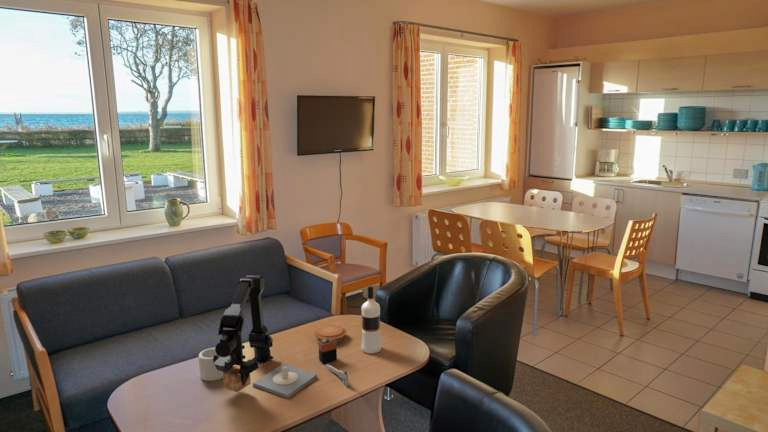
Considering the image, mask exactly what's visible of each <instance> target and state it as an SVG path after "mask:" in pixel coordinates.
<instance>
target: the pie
mask: <svg viewBox="0 0 768 432" xmlns="http://www.w3.org/2000/svg"><path fill="white" fill-rule="evenodd" d="M346 334H347V329H346V327H345V328H344V327H342V326H339V325H335V324H328V325H322V326H320V327H318V328H317V329H315V330H314V331H313V335H314V337H315V338H316V339H317V341H318V342H319V341H321V340H322V339H329V338H333V339H334V340H335V341H336V344H338V343H340V342H341V341H342V340H343V338H344V337H345V336H346Z"/></svg>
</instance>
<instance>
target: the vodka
mask: <svg viewBox="0 0 768 432" xmlns="http://www.w3.org/2000/svg"><path fill="white" fill-rule="evenodd" d="M380 305H381V304H380V303H378V302H376V300H375V299H374V286H367V301H365V302H364V303H363V304H362V305H361V307H360V308H361V323H362V325H361V333H362V335H361V337H362V339H361V345H360V349H361V351H362V352H364V353H365V354H370V355H371V354H373V355H374V354H377V353H379V352H381V351H382V345H383V344H382V339H381V319H380V318H381V306H380Z"/></svg>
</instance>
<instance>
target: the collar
mask: <svg viewBox="0 0 768 432" xmlns="http://www.w3.org/2000/svg"><path fill="white" fill-rule="evenodd" d="M239 371H240V366H238V365H234V366H233V367H232V368H231V369H229V370H227V371H226V372H224V373H223V378H222V381H223V388H224V389H227V390H229V391H233V392H235V393H238V392H240V391H241V390H244V389H245V388H247V387H248V386H249V385H251V383H252V382H251V374H250V375H249V377H248V379H247V382H246V384H245V385H244V386H243V385H242V379H241V374H240V373H238V372H239Z"/></svg>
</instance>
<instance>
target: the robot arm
mask: <svg viewBox="0 0 768 432" xmlns="http://www.w3.org/2000/svg"><path fill="white" fill-rule="evenodd" d="M265 282H266V279H265V278H264V276H262V275H258V274H257V275H255V274H254V275H253V274H252V275H250V274H249V275H248V274H246V275H245V277H241V278H240V279H239V281H238V287H237V289H236V292H235V295H234V297H233V300H232V303H231V305H230V306H229V307H228V308H226V309H225V311H224V312H223V314H222V316H221V318H220V322H219V326H218V327H219V328H218V333H217V335H218V336H222V337H220V338H219V342H218V343H217V344H216V345H215V347H214V348H215V351H216V353H217V354H216V355H215V356H214V357H213V363H214V364H215V367H216V369H217V370H219V371H222V372H226V371H227V370H229V369H231V368H232V367H234V366H236V365H237V366H240V371H239V372H238V373H240V374H241V379H242V385H243V386H244V385H245V384H246V382H247V379H248V377H249V375H250V376H251V374H252V373H253V372H255V371H256V370H258V369H259V366H260V365H259V364H264V363H266V362H268V361H270V360H271V359H273V357H274V356H272V355H271V349H270V348H272V347H273V346H274V345H273V344H274V343H273V342H274V340H273V337H272V336H271V335H270V333H269V329H268V327H266V325H265V323H264V313H263V304H262V301H263V300H262V293H263V291H264V289H265V284H266V283H265ZM248 298H249V306H250V307H249V308H250V317H251V326H252V328H251V330H250V332H249V334H248V344H249V347H250V349H251V348H253V351H254V352H253V353H254V355H253V356H254V357H253V358H252V359H248V360H245V359H246V355H245V354H243V353H244V351H243V350H245V348H246V347H245V345H243V338H242V332H243V328H244V325H245V316H244V309H245V306H246V303H247V301H248ZM244 360H245V361H244Z"/></svg>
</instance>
